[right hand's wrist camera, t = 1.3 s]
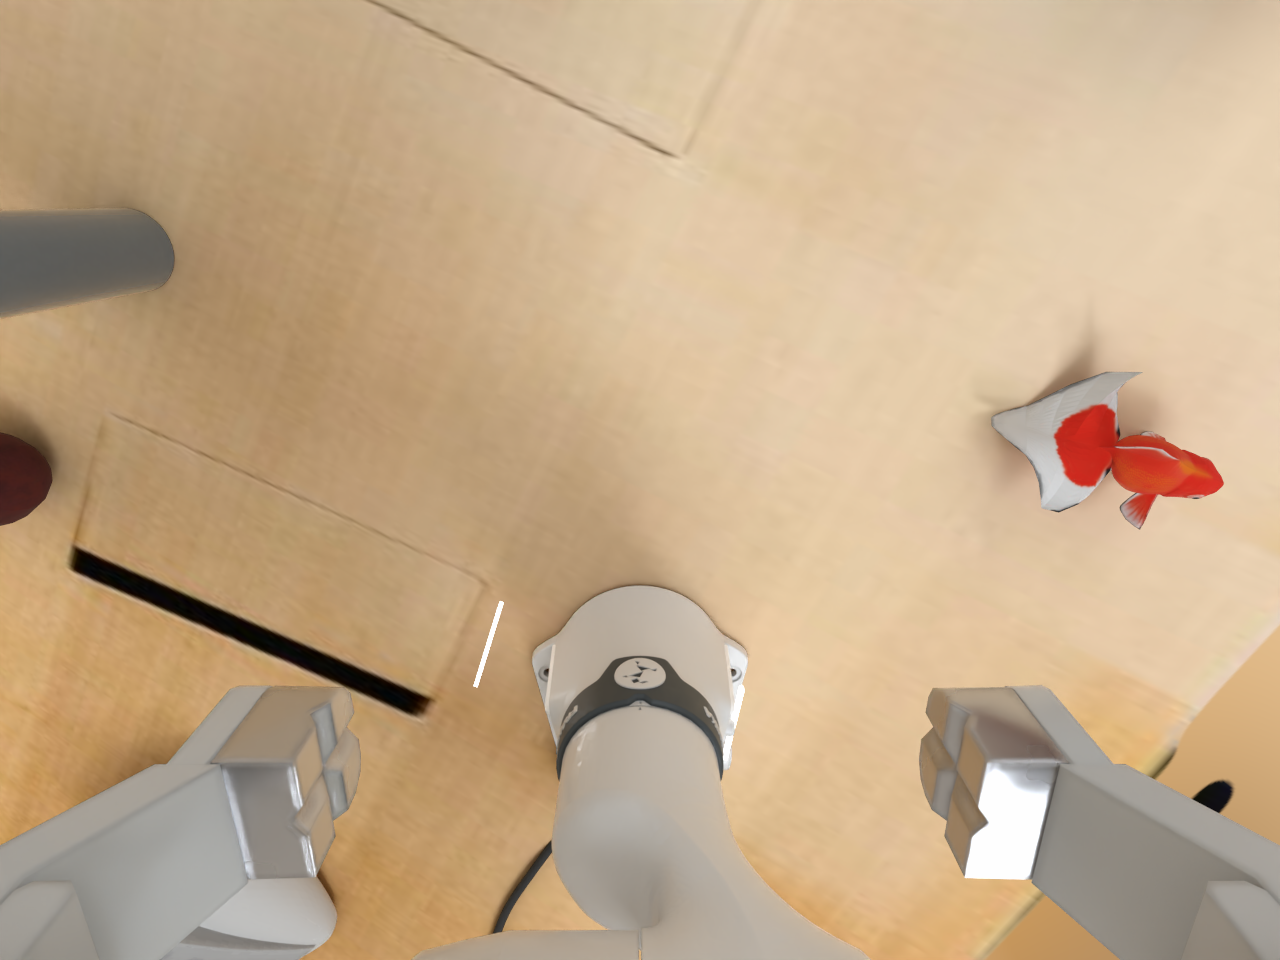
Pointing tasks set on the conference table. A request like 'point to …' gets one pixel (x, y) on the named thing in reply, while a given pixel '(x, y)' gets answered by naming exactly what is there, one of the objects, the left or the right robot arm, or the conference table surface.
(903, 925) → the conference table surface
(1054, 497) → the fish
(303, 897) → the grey rounded slotted body
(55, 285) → the bottle
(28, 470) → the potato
